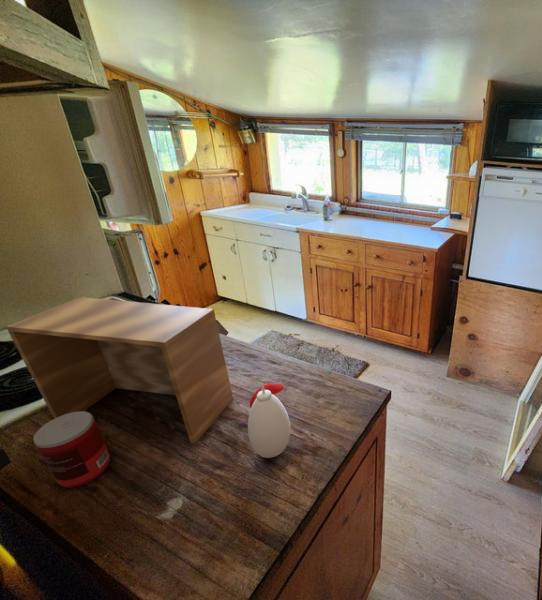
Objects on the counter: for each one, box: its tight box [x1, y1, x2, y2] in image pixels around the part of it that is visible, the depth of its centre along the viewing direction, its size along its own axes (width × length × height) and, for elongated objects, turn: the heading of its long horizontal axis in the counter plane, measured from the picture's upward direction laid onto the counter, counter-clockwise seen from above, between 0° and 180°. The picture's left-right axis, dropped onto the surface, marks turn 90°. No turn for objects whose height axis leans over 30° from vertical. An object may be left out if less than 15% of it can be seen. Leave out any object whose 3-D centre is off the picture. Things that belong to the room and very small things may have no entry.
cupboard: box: [5, 296, 234, 445], centre depth 71 cm, size 32×14×25 cm, turn 84°
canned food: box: [32, 411, 111, 489], centre depth 60 cm, size 8×8×11 cm
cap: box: [249, 382, 285, 409], centre depth 77 cm, size 8×6×6 cm
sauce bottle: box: [247, 382, 291, 459], centre depth 64 cm, size 8×8×18 cm
